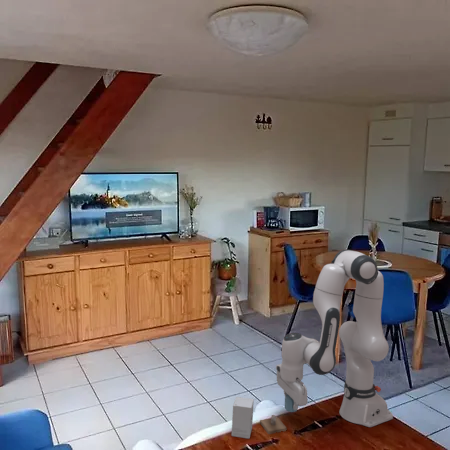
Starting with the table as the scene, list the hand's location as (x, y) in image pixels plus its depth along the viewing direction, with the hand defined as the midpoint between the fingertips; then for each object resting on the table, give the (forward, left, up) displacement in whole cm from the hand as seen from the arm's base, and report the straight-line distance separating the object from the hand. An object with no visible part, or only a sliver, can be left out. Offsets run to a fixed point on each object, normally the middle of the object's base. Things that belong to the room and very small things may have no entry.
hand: (291, 404), depth 185 cm
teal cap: (0, 0, -2) cm, 2 cm away
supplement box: (+22, +1, -8) cm, 23 cm away
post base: (+9, +1, -7) cm, 11 cm away
